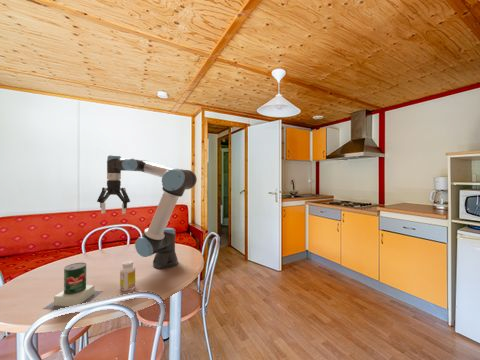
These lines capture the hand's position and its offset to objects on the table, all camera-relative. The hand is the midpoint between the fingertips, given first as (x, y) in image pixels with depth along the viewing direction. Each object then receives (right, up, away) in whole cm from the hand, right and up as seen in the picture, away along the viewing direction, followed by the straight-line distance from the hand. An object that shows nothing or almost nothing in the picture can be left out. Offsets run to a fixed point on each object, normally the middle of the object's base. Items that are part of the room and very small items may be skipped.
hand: (113, 213), depth 132 cm
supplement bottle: (+24, -33, -28) cm, 49 cm away
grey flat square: (+6, -33, -39) cm, 51 cm away
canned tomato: (+6, -29, -38) cm, 48 cm away
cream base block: (+6, -32, -39) cm, 51 cm away
